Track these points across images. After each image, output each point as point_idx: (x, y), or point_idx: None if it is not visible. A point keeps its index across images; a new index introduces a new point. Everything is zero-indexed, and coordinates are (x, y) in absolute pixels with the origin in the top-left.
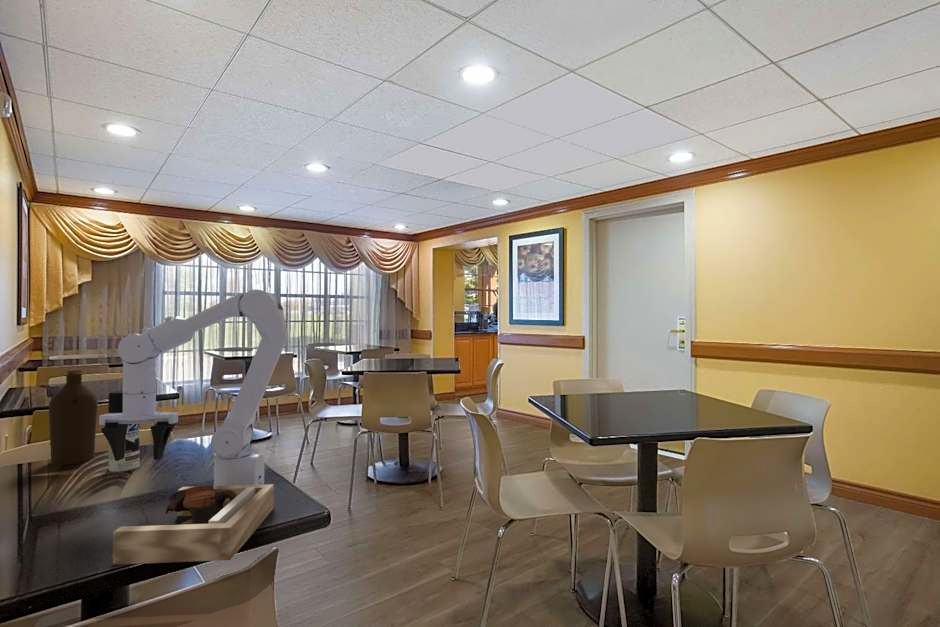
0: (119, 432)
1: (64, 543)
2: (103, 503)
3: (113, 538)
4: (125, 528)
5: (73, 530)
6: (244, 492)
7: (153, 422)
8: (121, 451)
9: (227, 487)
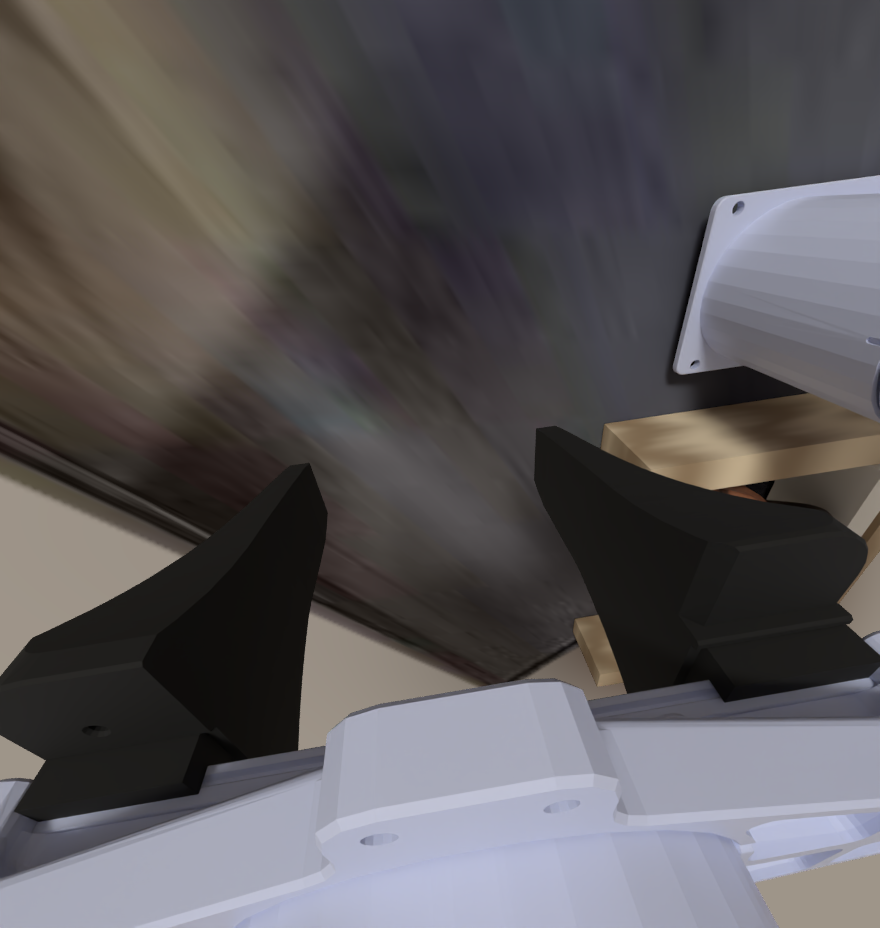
0: (270, 671)
1: (421, 593)
2: (245, 355)
3: (592, 674)
4: (612, 677)
5: (377, 547)
6: (863, 515)
7: (646, 717)
8: (307, 519)
9: (813, 463)
